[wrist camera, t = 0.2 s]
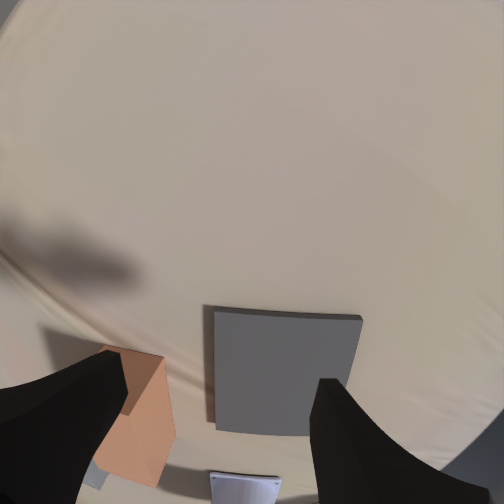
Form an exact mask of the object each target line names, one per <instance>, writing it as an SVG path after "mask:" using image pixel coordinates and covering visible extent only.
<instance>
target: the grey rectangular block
mask: <svg viewBox="0 0 504 504" xmlns="http://www.w3.org/2000/svg"><path fill="white" fill-rule="evenodd" d="M108 474H109V472H106V471H104V470H101V469H99V468H98V466H97V465H96V463H95V461H94V460H93V458H92V460H91V462H90V465H89V467H88V469H87V472H86V474H85V476H84V479H83V482H82V483H84V484H86V485H88V486H90V487H93V488H95V489H97V490H99V491H100V489H101V487H102V485H103V484H104V482H105V480H106V478H107V476H108Z"/></svg>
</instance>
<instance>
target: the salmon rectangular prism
mask: <svg viewBox="0 0 504 504" xmlns="http://www.w3.org/2000/svg"><path fill="white" fill-rule="evenodd" d="M104 350H111V351H114V352H118V353H120V356H121V361H122V366H123V371H124V375H125V380H126V384H127V389H128V396H127V398H126V401H125V403H124V405H123V408H122V410H121V412H120V414H119V416H118V417H117V419H116V421H115V422H114V424H113V425H112V427H111V429H110V430H109V432H108V433H107V435H106V437H105V438H104V440H103V441H102V443H101V445H100V446H99V448H98V449H97V451H96V453H95V455H94V456H93V460H94V461H95V463H96V465H97V466H98V468H99V469H101V470H104V471H106V472H109V473H111V474H114V475H117V476H120V477H122V478H125V479H128V480H131V481H134V482H137V483H140V484H144V485H147V486H150V487H154V488H156V486H157V484H158V481H159V478H160V476H161V473H162V471H163V468H164V465H165V463H166V460H167V457H168V455H169V452H170V449H171V447H172V444H173V442H174V439H175V436H176V432H175V427H174V421H173V416H172V410H171V404H170V397H169V391H168V384H167V376H166V369H165V360H164V357H160V356H155V355H150V354H145V353H140V352H135V351H130V350H126V349H122V348H117V347H113V346H109V345H104V346H103V347H102V348H101V349H100V350H99V351H98V352H97V353H99V352H102V351H104ZM97 353H96V354H97Z"/></svg>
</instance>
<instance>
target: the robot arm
mask: <svg viewBox="0 0 504 504" xmlns="http://www.w3.org/2000/svg"><path fill="white" fill-rule="evenodd" d="M127 396H128V389H127V384H126V380H125V375H124V371H123V366H122V361H121V356H120V353H118V352H114V351H111V350H104V351H102V352H99V353H97V354H95V355H93V356H90V357H88V358H86V359H84V360H82V361H80V362H78V363H76V364H74V365H71V366H69V367H67V368H65V369H63V370H61V371H58V372H56V373H53V374H51V375H48V376H46V377H43V378H41V379H38V380H35V381H32V382H29V383H26V384H22V385H18V386H14V387H9V388H4V389H0V504H75V503H76V499H77V496H78V493H79V490H80V487H81V484H82V482H83V479H84V476H85V474H86V472H87V469H88V467H89V465H90V462H91V460H92V458H93V456H94V455H95V453H96V451H97V449H98V448H99V446H100V445H101V443H102V441H103V440H104V438H105V437H106V435H107V433H108V432H109V430H110V429H111V427H112V425H113V424H114V422H115V421H116V419H117V417H118V416H119V414H120V412H121V410H122V408H123V405H124V403H125V401H126V398H127ZM309 425H310V444H311V451H312V457H313V463H314V469H315V475H316V482H317V488H318V497H319V504H495V502H494V500H493V498H492V496H491V494H490V492H489V490H488V489H487V488H483V487H480V486H476V485H473V484H470V483H467V482H464V481H461V480H458V479H456V478H453V477H451V476H449V475H447V474H444V473H442V472H440V471H438V470H436V469H434V468H433V467H431V466H429V465H428V464H426V463H424V462H423V461H421V460H419V459H418V458H416V457H415V456H413V455H412V454H410V453H409V452H408V451H406V450H405V449H404V448H402V447H401V446H400V445H399V444H397V443H396V442H395V441H394V440H392V439H391V438H390V437H389V436H388V435H387V434H386V433H385V432H384V431H383V430H382V429H380V428H379V427H378V426H377V425H376V424H375V423H374V422H373V420H372V419H371V418H370V417H369V416H368V415H367V414H366V413H365V412H364V411H363V409H362V408H361V407H360V406H359V405H358V404H357V402H356V401H355V400H354V399H353V398H352V396H351V395H350V394H349V393H348V391H347V390H346V389H345V388H344V386H343V385H342V384H341V383H340V381H339V380H338V379H337V378H320V379H319V384H318V388H317V391H316V395H315V399H314V403H313V407H312V410H311V414H310V417H309ZM281 483H282V479H281V478H278V477H258V476H245V475H235V474H226V473H219V472H210V484H211V492H212V501H211V504H275V501H276V498H277V495H278V492H279V489H280V486H281Z"/></svg>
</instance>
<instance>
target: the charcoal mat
mask: <svg viewBox="0 0 504 504" xmlns="http://www.w3.org/2000/svg"><path fill="white" fill-rule="evenodd" d="M362 324H363V319H362V317H361V316H360V315H333V314H310V313H292V312H276V311H263V310H250V309H238V308H227V307H217V306H216V308H215V311H214V383H215V421H216V430H220V431H228V432H237V433H247V434H260V435H277V436H310V425H309V417H310V414H311V410H312V407H313V403H314V399H315V395H316V391H317V388H318V384H319V379H320V378H337V379H338V380H339V381H340V383H341V384H342V385H343V386H344V388H345V387H346V384H347V381H348V377H349V374H350V370H351V367H352V363H353V360H354V356H355V352H356V349H357V345H358V341H359V337H360V333H361V328H362Z"/></svg>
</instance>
